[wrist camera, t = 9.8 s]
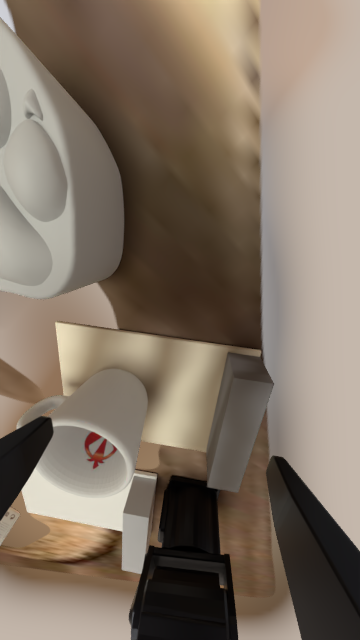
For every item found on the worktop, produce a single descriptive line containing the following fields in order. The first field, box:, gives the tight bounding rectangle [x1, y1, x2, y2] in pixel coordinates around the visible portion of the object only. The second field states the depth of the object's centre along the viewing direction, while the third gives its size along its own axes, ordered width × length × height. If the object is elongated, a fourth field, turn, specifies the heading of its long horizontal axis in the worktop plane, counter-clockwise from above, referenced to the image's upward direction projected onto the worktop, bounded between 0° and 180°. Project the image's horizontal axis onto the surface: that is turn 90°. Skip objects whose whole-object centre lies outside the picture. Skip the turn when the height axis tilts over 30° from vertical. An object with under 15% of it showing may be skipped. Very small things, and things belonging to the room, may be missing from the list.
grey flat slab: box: [22, 468, 157, 574], centre depth 28 cm, size 20×14×4 cm
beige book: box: [55, 321, 274, 493], centre depth 20 cm, size 20×14×4 cm
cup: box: [17, 369, 148, 498], centre depth 18 cm, size 11×8×8 cm
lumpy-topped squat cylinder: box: [0, 18, 124, 299], centre depth 13 cm, size 10×13×9 cm
